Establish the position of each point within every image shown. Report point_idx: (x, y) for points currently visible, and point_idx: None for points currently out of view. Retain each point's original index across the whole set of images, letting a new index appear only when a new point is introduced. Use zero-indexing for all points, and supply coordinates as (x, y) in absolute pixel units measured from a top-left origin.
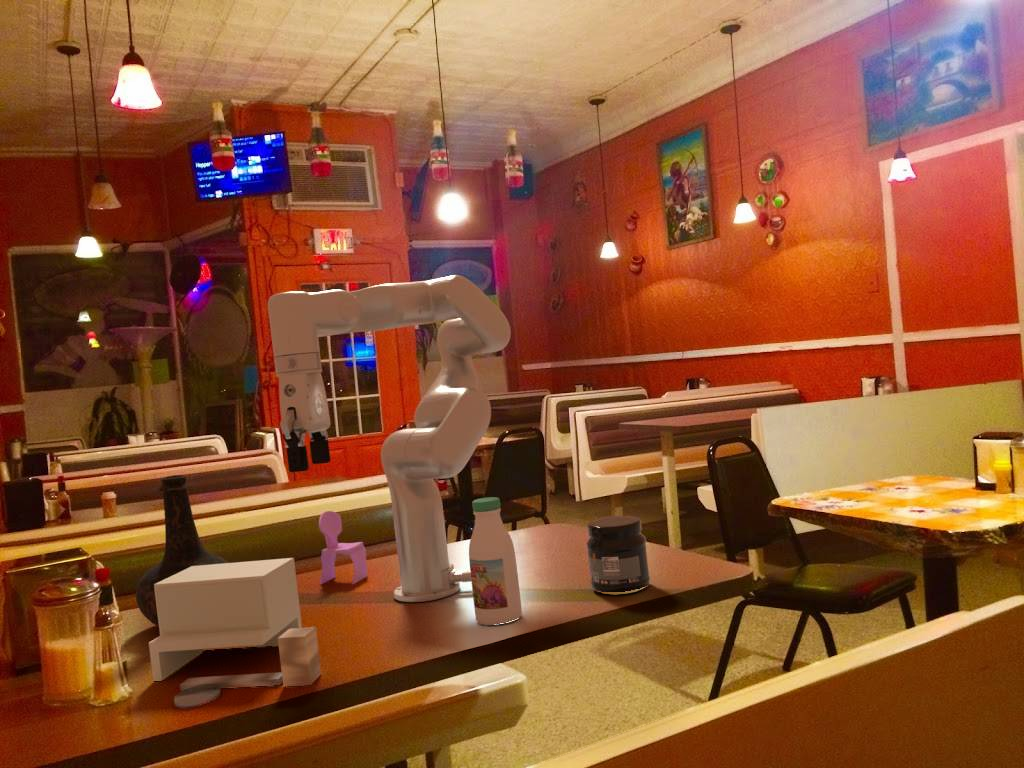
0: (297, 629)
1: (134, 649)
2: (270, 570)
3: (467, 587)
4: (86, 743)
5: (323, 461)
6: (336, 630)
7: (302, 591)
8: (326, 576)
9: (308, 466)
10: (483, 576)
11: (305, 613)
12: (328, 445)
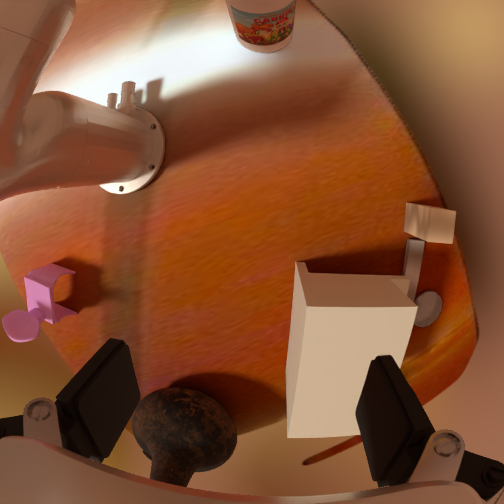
0: (433, 229)
1: (266, 425)
2: (389, 311)
3: (117, 103)
4: (463, 345)
5: (129, 363)
6: (258, 231)
7: (97, 327)
8: (64, 310)
9: (385, 360)
10: (294, 9)
11: (177, 299)
12: (74, 378)
